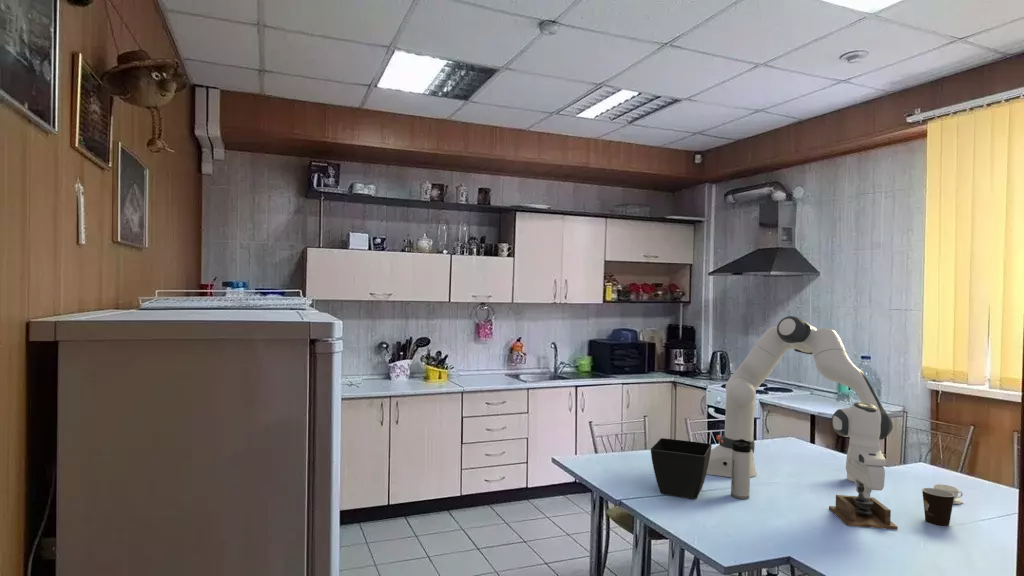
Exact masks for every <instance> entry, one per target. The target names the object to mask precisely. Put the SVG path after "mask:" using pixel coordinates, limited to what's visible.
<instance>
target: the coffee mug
mask: <svg viewBox="0 0 1024 576" xmlns="http://www.w3.org/2000/svg"><path fill="white" fill-rule="evenodd" d="M921 491H922V492H921V493H922V499H923V501H922V502H923V509H924V518H925V519H924V521H925V522H927V523H928V524H930V525H932V526H935V527H936V526H937V527H946V528H947V527H949V526H950V523H951V517H952V511H953V505H954V504H953V501H954V494H953V493H951V492H948V491H945V490H941V489H935V488H934V487H924V488H922V489H921Z"/></svg>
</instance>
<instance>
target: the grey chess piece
mask: <svg viewBox="0 0 1024 576" xmlns="http://www.w3.org/2000/svg"><path fill="white" fill-rule="evenodd" d="M864 488H865V487H864V484H863V483H861V482H860V481H859V487H858V489H859V493H858V495H857V496H858V497H857V498H854V499H853V500H854V502H855V505H856V506H857V507H858V508H855V511H856V512H858V513H861V514H867V515H870V514H873V513H872V511H870V510H868V509H870V508H872V506H873V504H874V502H873V501H872V500H870V498H865V497H863V495H862V494H863V491H864Z"/></svg>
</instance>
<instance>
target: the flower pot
mask: <svg viewBox="0 0 1024 576" xmlns="http://www.w3.org/2000/svg"><path fill="white" fill-rule="evenodd" d="M712 447H713V446H712V444H711V443H706V442H701V441H700V442H698V441H691V440H681V439H671V438H664V437H661V438H659V439H658V441H657V442H656V443H655V444H653V446H652V447H651V448H650V454H651V455H650V456H651V457H650V458H651V462H652V467H653V473H654V476H655V479H656V483H657V486H658V490H659V493H660V494H661V495H667V496H673V497H678V498H679V497H680V498H686V499H692V500H697V499H698V497H699V495H700V492H701V491H702V488H703V485H704V483H705V479H706V477H707V474H706V473H707V469H708V464H709V459H710V453H711V450H712Z"/></svg>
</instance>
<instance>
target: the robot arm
mask: <svg viewBox="0 0 1024 576" xmlns="http://www.w3.org/2000/svg"><path fill="white" fill-rule="evenodd" d="M788 350H794V351H795V352H797V353H801V354H805V355H812V358H813V360H814V363H815V367H816V370H817V371H818V373H819V374H820V375H821V376H823V377H824V378H825V379H827V380H829V381H832V382H835V383H839V384H841V385H843V386H846V387H848V388H850V389H851V390H853V391H854V392H855V393H856V396H857V398H858V400H859V401H860V402H855V403H852V405H851V406H849V407H846V408H840V409H837V410H836V411H835V412H834V413H833V414H832V416H831V426H832V429H833V431H834V432H835V434H837V435H839V436H841V437H845V438H849V443H848V448H849V452H848V451H847V455H846V459H845V460H846V461H845V471H846V474H847V473H849V474H850V475H851V476H853V477H854V478H855V482H854V483H855V487H856V489H855V491H856V492H857V493H858V494H859V489H858V487H859V481H860V482H861V483H863V484H864V487H865V488H864V491H863V494H862V495H863V497H865V498H870V497H871V493H872V491H882V490H883V489H884V488H885V477H886V470H885V467H887V459H886V458H885V456H884V455H883V453H882V451H881V444H880V440H882V441H883V440H884V439H886V438H887V437H888V436H890V434H891V433H892V431H893V428H894V425H893V421H892V418H891V417H890V415H889V414H888V413H887V411H886V410H885V408H884V407H883V406H882V405H883V404H882V403H881V402H880V400H879V398H878V396H877V394H876V392H875V390H874V388H873V387H872V385H871V383H870V382H869V380H868V378H867V376H866V375H865V373H864V372H863V370H862V369H860V368H858V367H857V366H856V365H855V364H854V363H853V362H852V361H851V359H850V358H849V355H848V353H847V351H846V347H845V345H844V343H843V341H842V338H841V337H840V336H839V334H838V332H836V331H835V330H834V329H832V328H827V327H826V328H819V329H817V327H815V326H814V325H812V324H811V323H810V322H807V321H804V319H802V318H800V317H797V316H793V315H789V316H788V315H787V316H785V317H784V318H782V319H780V321H778V324H777V326H771V327H769V328H768V329H767V330H766V331H765V332H764V333H763V334H762V335H761V336H760V338H759V339H758V340H757V341H756V343H755V344H754V346H752V348H751V350H750V351H749V353H748V354H747V355H746V357H745V358H744V360H743V361H742V362H741V363H740V365H739V366H738V367H737V369H735V371H734V372H733V374H732V375H731V376H730V377H729V379H728V380H727V382H726V384H725V393H726V397H725V398H726V400H725V415H724V416H725V417H724V435H723V436H722V435H719V434H718V435H716V440H717V441H719V442H718V443H719V444H718V445H717V446H715V447H713V448H711V453H710V459H709V464H708V469H707V473H706V475H709V476H710V475H711V476H717V477H726V478H731V475H732V448H733V441H734V440H740V439H744V440H745V441H748V442H750V443H751V462H750V478H753V477H755V476H757V471H756V466H755V458H754V453H755V439H754V428H755V426H754V424H755V423H754V421H755V413H756V410H755V409H756V398H757V397H756V396H757V394H756V393H757V390H758V388H759V387H760V386H761V385H762V383H763V382H765V380H766V379H767V378H768V377H769V376H770V375H771V374H772V372H773V371H774V369H775V368H776V366H777V365H778V364H779V362H780V361H781V359H782V358H783V356H784V355H785V354H786V352H788Z"/></svg>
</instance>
